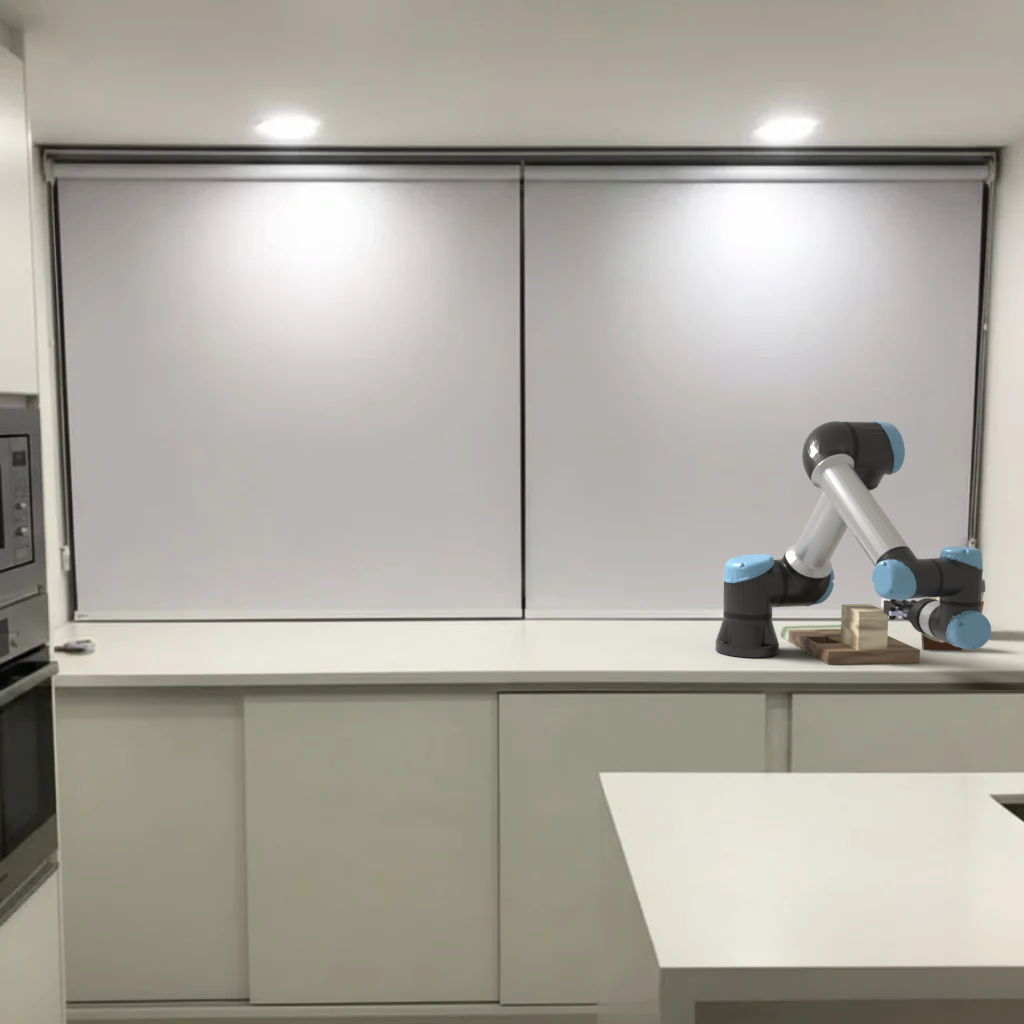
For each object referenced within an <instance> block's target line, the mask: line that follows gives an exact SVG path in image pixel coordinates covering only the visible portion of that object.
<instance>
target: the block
mask: <svg viewBox="0 0 1024 1024" xmlns="http://www.w3.org/2000/svg"><path fill="white" fill-rule="evenodd" d="M840 622H841V623H840V624H841V642H843V643H845V644H847V645H849V646H851V647H853V648H855V649H857V650H887V636H889V635H888V634H889V632H888V631H889V630H888V628H889V616H888V615H886V614H885V613H884V608H882V607H878V606H875V605H873V604H870V603H868V604H865V603H861V604H860V603H858V604H855V603H854V604H853V603H852V604H841V619H840Z"/></svg>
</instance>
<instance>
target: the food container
mask: <svg viewBox="0 0 1024 1024" xmlns="http://www.w3.org/2000/svg"><path fill="white" fill-rule="evenodd" d="M920 636H921V647H922V648H921V650H922V649H923V650H936V651H935V652H950V651H964V648H960V647H955V646H953V645H952V644H949V643H947V642H945V641H944V642H940V641H939V639H937V638H934V637H932V636H928V635H926V634H923V633H920ZM923 650H922V651H923Z"/></svg>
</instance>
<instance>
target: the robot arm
mask: <svg viewBox="0 0 1024 1024" xmlns="http://www.w3.org/2000/svg"><path fill="white" fill-rule="evenodd" d="M905 456H906V449H905V441H904V439H903V435H902V433H901V432H900V430H899V429H898V428H897V427H896V426H895V425H894V424H892V423H890V422H885V421H878V420H872V421H840V420H839V421H837V420H836V421H827V422H825V423H822V424H820V425H818V426H817V427H815V428H814V429H813V430H812V431H811V432H810V433H809V434H808V435H807V438H806V439H805V442H804V444H803V448H802V454H801V459H802V466H803V467H804V471H805V473H806V475H807V477H808V479H809V480H810V481H811V483H812V484H813V486H814V487H815V488H817V489H822V493H821V495H820V498H819V500H818V501H817V503H816V505H815V507H814V509H813V511H812V513H811V515H810V517H809V519H808V521H807V523H806V525H805V526H804V529H803V531H802V533H801V535H800V537H799V539H798V541H797V543H794V544H792V545H790V546H789V547H787V549H786V551H785V552H784V554H783V556H782V557H781V558H780V559H774V557H773V556H772V555H771V554H767V553H755V554H742V555H738V556H733V557H731V558H730V559H728V560H727V561H726V562H725V564H724V571H723V577H722V579H723V613H722V614H723V616H722V617H723V618H722V622H721V624H720V628H719V630H718V634H717V636H716V639H715V651H716V652H717V653H719V654H723V655H726V656H732V657H740V658H767V657H768V658H769V657H772V656H773V657H774V656H776V655H778V654H779V652H780V650H779V649H780V644H779V643H780V642H779V640H778V637H777V632H776V629H775V627H774V623H773V608H785V607H786V608H789V607H791V608H792V607H810V606H815V605H819V604H822V603H824V602H825V601H826V600H827V599H829V598H830V596H831V594H832V592H833V589H834V586H835V584H834V580H835V573H834V568H833V565H832V562H831V559H832V557H833V555H834V553H835V551H836V550H837V548H838V546H839V544H840V542H841V540H842V539H843V536H845V533H846V531H847V529H848V530H849V531H850V532H851V533H852V535H853V537H854V538H855V540H856V541H857V543H858V544H859V545H860V548H862V550H863V551H864V553H865V554H866V556H867V557H868V559H869V560H870V562H871V563H872V565H873V566H874V568H873V570H872V573H871V574H872V575H871V581H872V582H873V588H874V590H875V592H876V594H877V595H878V596H879V597H880V608H881V609H883V610H884V613H885V614H886V615H888V620H892V621H894V620H896V619H899V617H901V618H902V619H903V620H906V621H908V622H909V623H910V624H911V625H912V627H913V628H914V629H915V630H916V631H917V632H919V633H920V634H921V633H923V634H926V635H928V636H932V637H934V638H937V639H939V641H940V642H944V641H945V642H947V643H949V644H952V645H953V646H955V647H960V648H963V650H970V651H972V650H978V649H980V648H981V647H984V646H985V645H986V644H987V643H988V641H989V639H990V638H991V635H992V625H991V623H990V620H989V619H988V618H987V617H986V616H985V615H984V614H983V613H982V614H981V609H982V605H981V589H982V579H983V572H984V568H983V554H982V551H981V550H980V549H978V548H976V547H970V546H945V547H943V548H942V549H941V551H940V555H939V557H934V558H933V557H932V558H918V557H917V556H916V555H915V553H914V552H913V550H912V549H911V548H910V546H909V545H908V543H906V541H905V539H904V538H903V537H902V535H901V534H900V532H899V531H898V529H897V528H896V526H895V525H894V524H893V523H892V521H891V520H890V518H889V516H887V514H886V513H885V512H884V510H883V509H882V507H881V505H880V504H879V503H878V501H877V500H876V499H875V498H874V497H875V496H873V494H872V493H871V491H874V490H875V489H877V488H878V487H879V485H880V483H881V482H882V480H883V478H884V476H885V475H889V476H890V475H893V474H896V473H898V472H899V471H900V470H901V468H902V467H903V464H904V462H905ZM936 597H940V601H938V600H935V598H936ZM910 599H911V600H910ZM915 599H919V600H915ZM909 600H910V601H909Z"/></svg>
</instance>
